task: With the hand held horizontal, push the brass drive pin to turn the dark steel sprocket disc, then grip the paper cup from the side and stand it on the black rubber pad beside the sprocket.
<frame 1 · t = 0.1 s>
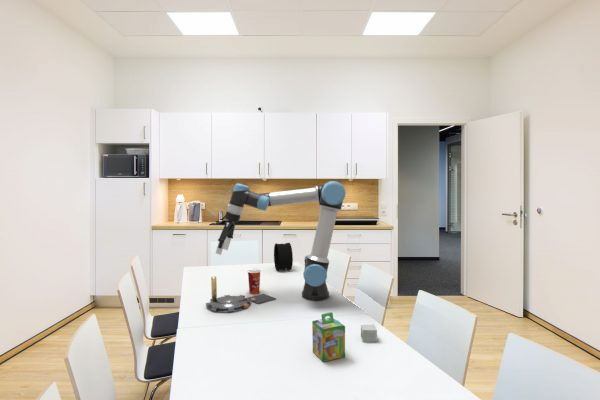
hand: (221, 251, 183), 28 cm above the table, tool tilted 20°, fingers open, 13 cm apart
sprocket: (228, 291, 181), point 8 cm above the table, hinge at 0.0°
paper cup: (254, 293, 203), on the table
marked pad: (260, 299, 191), on the table
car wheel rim: (283, 270, 259), on the table
sprocket base: (229, 305, 181), on the table
chalk box: (328, 355, 127), on the table
small box: (368, 339, 139), on the table
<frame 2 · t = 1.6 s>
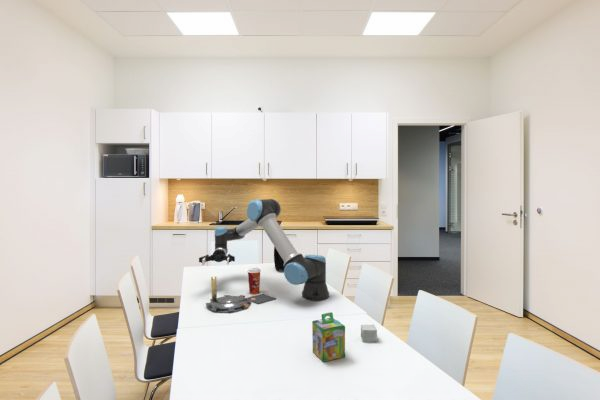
hand: (215, 262, 191), 20 cm above the table, tool horizontal, fingers open, 12 cm apart
nothing on the table moved.
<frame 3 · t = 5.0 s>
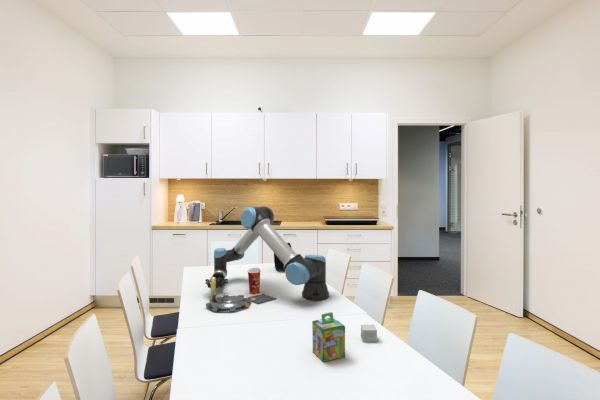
hand: (212, 289, 185), 7 cm above the table, tool horizontal, fingers closed
sprocket: (228, 291, 181), point 8 cm above the table, hinge at 3.6°, touching gripper
everything else where it was.
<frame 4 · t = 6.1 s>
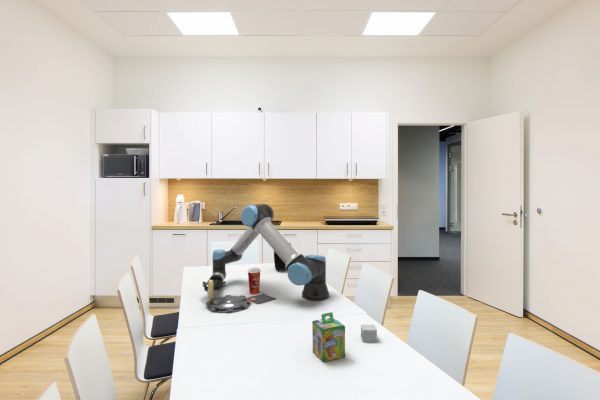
hand: (208, 292, 179), 7 cm above the table, tool horizontal, fingers closed
sprocket: (228, 291, 181), point 8 cm above the table, hinge at 42.1°, touching gripper
everything else where it was.
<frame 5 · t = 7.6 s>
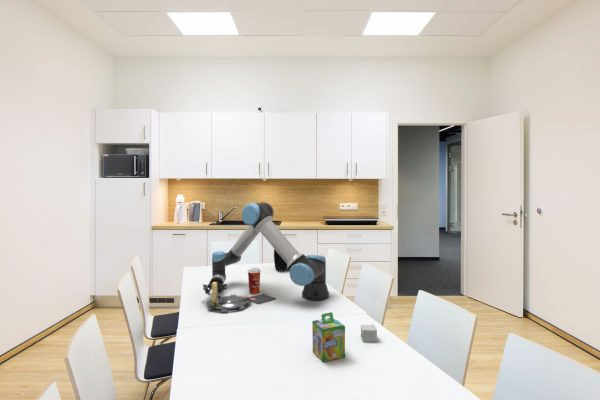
hand: (210, 295, 174), 7 cm above the table, tool horizontal, fingers closed
sprocket: (228, 291, 181), point 8 cm above the table, hinge at 72.8°, touching gripper
everything else where it was.
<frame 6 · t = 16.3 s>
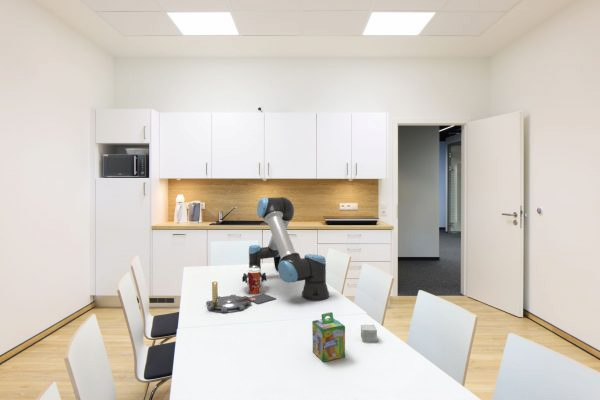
hand: (254, 282, 197), 8 cm above the table, tool horizontal, fingers closed on paper cup, 7 cm apart
sprocket: (228, 291, 181), point 8 cm above the table, hinge at 73.4°
paper cup: (254, 293, 203), on the table, touching gripper
everything else where it was.
when the fingers open (10 cm above the table, at t = 20.6 s): paper cup drops 1 cm, resting on marked pad.
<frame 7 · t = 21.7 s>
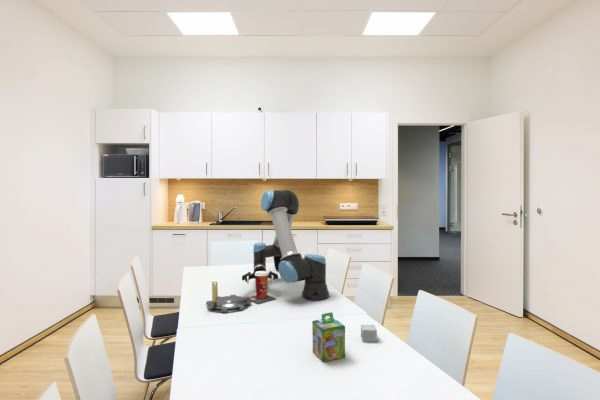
hand: (260, 280, 190), 10 cm above the table, tool horizontal, fingers open, 13 cm apart
paper cup: (261, 297, 192), resting on marked pad
everything else where it was.
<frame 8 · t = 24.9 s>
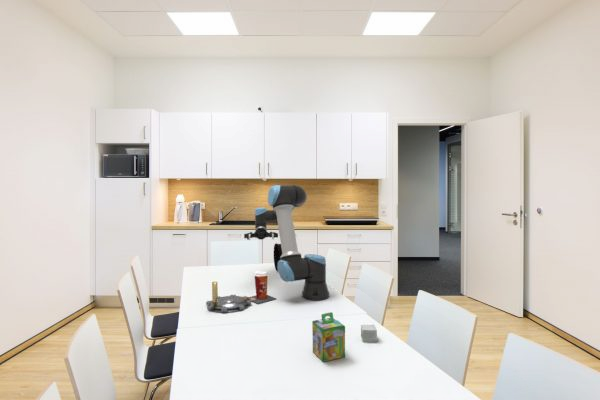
hand: (261, 237, 203), 32 cm above the table, tool horizontal, fingers open, 13 cm apart
nothing on the table moved.
at the end: sprocket at +73° (first picture: +0°); paper cup inside the target area on the marked pad (0.8 cm from its centre), point 0.4 cm above the marked pad's base; paper cup tilted 0° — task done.
